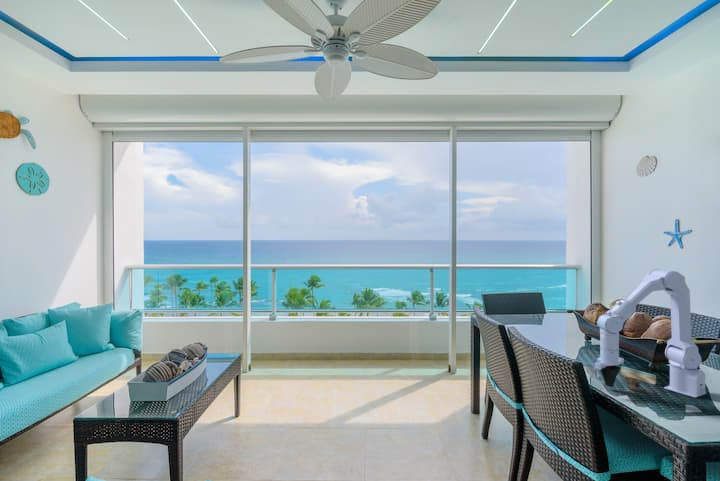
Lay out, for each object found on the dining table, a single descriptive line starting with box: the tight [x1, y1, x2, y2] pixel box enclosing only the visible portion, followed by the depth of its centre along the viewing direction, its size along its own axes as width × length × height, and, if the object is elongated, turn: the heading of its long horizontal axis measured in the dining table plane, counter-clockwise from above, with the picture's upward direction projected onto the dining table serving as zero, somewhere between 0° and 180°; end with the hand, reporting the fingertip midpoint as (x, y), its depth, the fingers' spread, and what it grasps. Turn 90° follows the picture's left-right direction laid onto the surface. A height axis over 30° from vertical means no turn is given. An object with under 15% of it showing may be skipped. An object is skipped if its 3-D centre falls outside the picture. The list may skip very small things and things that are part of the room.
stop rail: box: [620, 365, 657, 385], centre depth 153 cm, size 12×1×3 cm, turn 28°
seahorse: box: [624, 376, 650, 395], centre depth 147 cm, size 6×15×2 cm, turn 159°
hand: (609, 385), depth 143 cm, fingers closed
